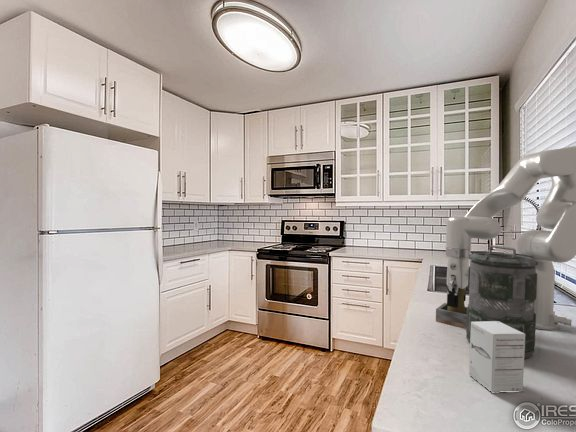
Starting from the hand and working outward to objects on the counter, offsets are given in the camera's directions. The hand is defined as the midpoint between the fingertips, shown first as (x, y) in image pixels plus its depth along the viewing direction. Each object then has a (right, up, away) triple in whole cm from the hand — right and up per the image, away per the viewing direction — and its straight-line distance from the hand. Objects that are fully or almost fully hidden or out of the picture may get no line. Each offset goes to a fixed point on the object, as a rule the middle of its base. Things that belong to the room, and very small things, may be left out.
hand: (456, 303), depth 108 cm
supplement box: (-12, -7, -39) cm, 41 cm away
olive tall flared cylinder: (0, -5, 0) cm, 5 cm away
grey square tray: (0, -6, 0) cm, 6 cm away
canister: (+1, -7, -20) cm, 21 cm away
